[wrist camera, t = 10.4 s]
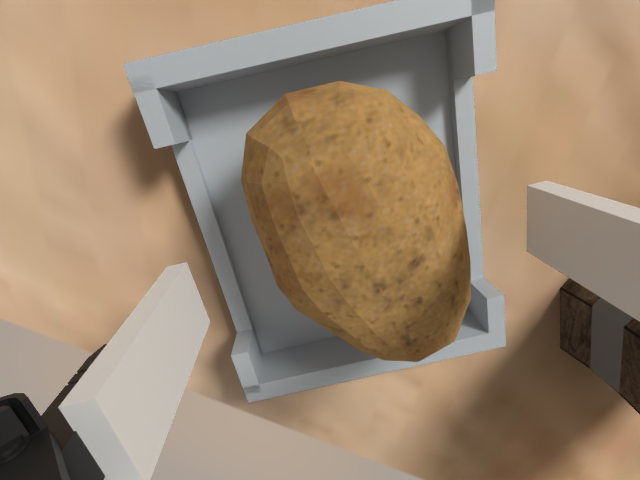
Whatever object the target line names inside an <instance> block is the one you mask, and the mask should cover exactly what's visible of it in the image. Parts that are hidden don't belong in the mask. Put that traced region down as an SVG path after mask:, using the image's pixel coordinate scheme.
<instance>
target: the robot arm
mask: <svg viewBox="0 0 640 480" xmlns="http://www.w3.org/2000/svg"><path fill="white" fill-rule="evenodd" d="M527 252H529V253H530V254H532V255H534V256H535V257H537V258H538V259H540V260H542V261H543V262H545V263H546V264H548V265H550V266H551V267H553V268H554V269H556V270H558V271H559V272H561V273H563V274H564V275H566V276H567V277H569V278H571V279H572V280H574V281H575V282H577V283H579V284H580V285H582V286H583V287H585V288H587V289H588V290H590V291H591V292H593V293H595V294H596V295H598V296H599V297H601V298H603V299H604V300H606V301H607V302H609V303H611V304H612V305H614V306H615V307H617V308H619V309H620V310H622V311H623V312H625V313H627V314H628V315H630V316H631V317H633V318H635V319H636V320H638V321H639V322H640V208H637V207H634V206H630V205H627V204H624V203H620V202H617V201H614V200H610V199H607V198H604V197H600V196H597V195H594V194H590V193H587V192H583V191H580V190H577V189H573V188H570V187H567V186H563V185H560V184H557V183H553V182H550V181H544V182H539V183H535V184H530V185H527ZM209 324H210V320H209V318H208V315H207V312H206V310H205V307H204V305H203V302H202V300H201V297H200V295H199V292H198V289H197V287H196V284H195V282H194V279H193V277H192V274H191V272H190V269H189V266H188V264H187V262H185V263H181V264H176V265H172V266H168V267H166V269H165V270H164V271H163V273H162V274H161V275H160V276H159V278H158V279H157V280H156V282H155V283H154V284H153V285H152V287H151V288H150V289H149V291H148V292H147V293H146V294H145V296H144V297H143V298H142V300H141V301H140V302H139V304H138V305H137V306H136V307H135V309H134V310H133V311H132V313H131V314H130V315H129V316H128V318H127V319H126V320H125V322H124V323H123V324H122V325H121V327H120V328H119V329H118V331H117V332H116V333H115V335H114V336H113V337H112V338H111V340H110V341H109V342H108V344H105V345H103V346H102V347H101V348H100V349H98V350H97V351H96V352H95V353H93V354H92V355H91V356H90V357H89V358H88V359H87V360H86V361H85V363H84V364H83V365H82V366H81V367H80V369H79V370H78V371H77V372H78V373H77V374H75V375H74V376H73V377H72V379H71V380H70V381H69V382H68V385H67V386H65V387H64V389H63V390H62V391H61V393H59V395H58V396H57V397H56V399H55V400H54V401H53V402H52V403H51V405H50V406H49V407H48V408H47V410H46V411H45V412H44V413H43V415H42V416H40V414H39V413H38V411H37V410H36V408H35V407H34V406H33V404H32V403H31V401H30V400H29V398H28V397H27V396H26V395H25V394H24V393H14V394H11V395H7V396H4V397H1V398H0V480H104V478H105V479H106V480H151V478H152V475H153V472H154V470H155V467H156V464H157V461H158V459H159V456H160V454H161V451H162V449H163V446H164V443H165V441H166V438H167V435H168V433H169V430H170V427H171V425H172V422H173V419H174V417H175V414H176V411H177V409H178V406H179V404H180V401H181V398H182V396H183V393H184V390H185V388H186V385H187V382H188V380H189V377H190V374H191V372H192V369H193V367H194V364H195V361H196V359H197V356H198V353H199V351H200V348H201V345H202V343H203V340H204V337H205V335H206V332H207V329H208V327H209Z"/></svg>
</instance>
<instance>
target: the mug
mask: <svg viewBox="0 0 640 480" xmlns="http://www.w3.org/2000/svg"><path fill="white" fill-rule="evenodd" d="M560 348H561V349H562V350H564V351H565V352H567V353H568V354H570V355H571V356H573V357H574V358H576V359H577V360H578V361H580V362H581V363H583V364H584V365H586V366H587V367H589V368H590V369H591V370H592V371H594V372H595V373H596V374H597V375H598V376H599V377H601V378H602V379H603V380H604V381H605V382H606V383H607V384H609V385H610V386H611V387H612V388H613V389H614V390H616V391H617V392H618V393H619V394H620V395H621V396H622V397H623V398H624V399H625V400H626V401H627V402H628V403H629V404H630V405H631V406H632V407H633V408H634V409H635V410H636V411H637V412H638V413H639V414H640V322H639V321H638V320H636V319H635V318H633V317H631V316H630V315H628V314H627V313H625V312H623V311H622V310H620V309H619V308H617V307H615V306H614V305H612V304H611V303H609V302H607V301H606V300H604V299H603V298H601V297H599V296H598V295H596V294H595V293H593V292H591V291H590V290H588V289H587V288H585V287H583V286H582V285H580V284H579V283H577V282H575V281H574V280H572V279H571V278H569V279H568V280H567V281H566V282H565V283H564V285H563V286H562V287H561V288H560Z"/></svg>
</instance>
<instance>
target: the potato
mask: <svg viewBox="0 0 640 480" xmlns="http://www.w3.org/2000/svg"><path fill="white" fill-rule="evenodd" d="M241 181H242V185H243V189H244V193H245V197H246V200H247V204H248V208H249V212H250V216H251V220H252V222H253V225H254V227H255V229H256V232H257V234H258V237H259V239H260V241H261V244H262V246H263V249H264V251H265V254H266V256H267V259H268V262H269V265H270V267H271V270H272V273H273V276H274V279H275V282H276V284H277V286H278V287H279V289H280V290H281V291H282V293H283V294H284V295H285V296H286V298H287V299H288V300H289V301H290V303H291V304H292V305H293V307H294V308H295V309H296V310H297V311H299V312H300V313H302V314H304V315H305V316H307V317H308V318H310V319H312V320H313V321H315V322H316V323H318V324H319V325H321V326H323V327H324V328H326V329H327V330H329V331H330V332H332V333H333V334H335V335H337V336H338V337H340V338H341V339H343V340H344V341H345V342H347V343H348V344H350V345H351V346H353V347H354V348H356V349H358V350H360V351H362V352H365V353H367V354H370V355H372V356H374V357H377V358H379V359H382V360H386V361H409V362H419V361H421V360H423V359H425V358H426V357H428V356H430V355H432V354H434V353H435V352H437V351H439V350H441V349H442V348H444V347H446V346H448V345H449V344H451V343H453V342H455V339H456V337H457V334H458V331H459V329H460V326H461V324H462V321H463V318H464V316H465V313H466V310H467V308H468V305H469V302H470V300H471V261H470V253H469V245H468V237H467V229H466V223H465V218H464V212H463V207H462V202H461V196H460V191H459V187H458V183H457V180H456V177H455V174H454V171H453V168H452V165H451V162H450V159H449V157H448V154H447V151H446V148H445V145H444V144H443V143H442V142H441V141H440V140H439V138H438V137H437V136H436V135H435V134H434V132H433V131H432V130H431V129H430V128H429V127H428V125H427V124H426V123H425V122H424V121H423V119H422V118H421V117H420V116H419V115H418V114H417V113H415V112H414V111H413V110H412V109H410V108H409V107H408V106H406V105H405V104H404V103H403V102H401V101H400V100H399V99H398V98H396V97H395V96H394V95H392V94H391V93H390V92H389V91H387V90H386V89H380V88H375V87H369V86H364V85H358V84H353V83H348V82H344V81H337V82H333V83H328V84H324V85H320V86H316V87H311V88H307V89H303V90H299V91H295V92H290V93H286V94H284V95H283V96H282V97H281V98H280V99H279V100H278V101H277V102H276V103H275V104H274V105H273V106H272V107H271V108H270V109H269V110H268V111H267V112H266V113H265V115H264V116H263V117H262V118H261V119H260V120H259V121H258V122H257V123H256V124H255V125H254V126H253V127H252V128H251V129H250V130H249V131H248V132H247V133H246V139H245V148H244V157H243V166H242V175H241Z"/></svg>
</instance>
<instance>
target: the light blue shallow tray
mask: <svg viewBox="0 0 640 480" xmlns="http://www.w3.org/2000/svg"><path fill="white" fill-rule="evenodd" d="M123 66H124V69H125V71H126V74H127V77H128V79H129V82H130V85H131V88H132V90H133V93H134V96H135V98H136V101H137V104H138V106H139V109H140V112H141V115H142V117H143V120H144V123H145V125H146V128H147V131H148V133H149V136H150V139H151V142H152V144H153V147H154V149H157V148H161V147H166V146H170V145H171V146H172V149H173V152H174V155H175V158H176V161H177V164H178V166H179V169H180V172H181V175H182V178H183V181H184V183H185V186H186V189H187V192H188V195H189V198H190V200H191V203H192V206H193V209H194V212H195V215H196V217H197V220H198V223H199V226H200V229H201V232H202V234H203V237H204V240H205V243H206V246H207V249H208V251H209V254H210V257H211V260H212V263H213V266H214V268H215V271H216V274H217V277H218V280H219V283H220V285H221V288H222V291H223V294H224V297H225V300H226V302H227V305H228V308H229V311H230V314H231V317H232V319H233V322H234V325H235V328H236V331H237V334H236V338H235V342H234V345H233V349H232V353H231V358H232V360H233V363H234V366H235V368H236V371H237V374H238V377H239V379H240V382H241V385H242V387H243V390H244V393H245V395H246V398H247V401H248V403H251V402H255V401H260V400H264V399H269V398H273V397H278V396H282V395H287V394H292V393H296V392H301V391H305V390H310V389H314V388H319V387H323V386H328V385H332V384H337V383H341V382H346V381H350V380H355V379H359V378H364V377H368V376H373V375H378V374H382V373H387V372H391V371H396V370H400V369H405V368H409V367H414V366H418V365H423V364H427V363H432V362H436V361H441V360H445V359H450V358H454V357H459V356H464V355H468V354H473V353H477V352H482V351H486V350H491V349H495V348H500V347H504V346H506V332H505V302H504V294H503V293H502V292H500V291H499V290H498V289H497V288H496V287H495V286H493V285H492V284H491V283H490V282H489V281H488V280H487V279H485V278H484V271H483V253H482V235H481V217H480V199H479V181H478V164H477V146H476V128H475V110H474V92H473V76H476V75H480V74H484V73H489V72H493V71H497V66H496V37H495V7H494V0H395V1H391V2H386V3H382V4H378V5H374V6H369V7H365V8H361V9H356V10H352V11H348V12H343V13H339V14H335V15H330V16H326V17H322V18H317V19H313V20H309V21H304V22H300V23H296V24H291V25H287V26H283V27H279V28H274V29H270V30H266V31H261V32H257V33H253V34H248V35H244V36H240V37H235V38H231V39H227V40H222V41H218V42H214V43H209V44H205V45H201V46H196V47H192V48H188V49H184V50H179V51H175V52H171V53H166V54H162V55H158V56H153V57H149V58H145V59H140V60H136V61H132V62H127V63H123ZM337 81H344V82H348V83H353V84H358V85H364V86H369V87H375V88H380V89H386V90H387V91H389V92H390V93H391V94H392V95H394V96H395V97H396V98H398V99H399V100H400V101H401V102H403V103H404V104H405V105H406V106H408V107H409V108H410V109H412V110H413V111H414V112H415V113H417V114H418V115H419V116H420V117H421V118H422V119H423V121H424V122H425V123H426V124H427V125H428V127H429V128H430V129H431V130H432V131H433V132H434V134H435V135H436V136H437V137H438V138H439V140H440V141H441V142H442V143H443V144H444V145H445V148H446V151H447V154H448V157H449V159H450V162H451V165H452V168H453V171H454V174H455V177H456V180H457V183H458V187H459V191H460V196H461V202H462V207H463V212H464V218H465V223H466V229H467V237H468V245H469V253H470V261H471V300H470V302H469V305H468V308H467V310H466V313H465V316H464V318H463V321H462V324H461V326H460V329H459V331H458V334H457V337H456V339H455V342H453V343H451V344H449V345H448V346H446V347H444V348H442V349H441V350H439V351H437V352H435V353H434V354H432V355H430V356H428V357H426V358H425V359H423V360H421V361H419V362H409V361H386V360H382V359H379V358H377V357H374V356H372V355H370V354H367V353H365V352H362V351H360V350H358V349H356V348H354V347H353V346H351V345H350V344H348V343H347V342H345V341H344V340H343V339H341V338H340V337H338V336H337V335H335V334H333V333H332V332H330V331H329V330H327V329H326V328H324V327H323V326H321V325H319V324H318V323H316V322H315V321H313V320H312V319H310V318H308V317H307V316H305V315H304V314H302V313H300V312H299V311H297V310H296V309H295V308H294V307H293V305H292V304H291V303H290V301H289V300H288V299H287V298H286V296H285V295H284V294H283V293H282V291H281V290H280V289H279V287H278V286H277V284H276V282H275V279H274V276H273V273H272V270H271V267H270V265H269V262H268V259H267V256H266V254H265V251H264V249H263V246H262V244H261V241H260V239H259V237H258V234H257V232H256V229H255V227H254V225H253V222H252V220H251V216H250V212H249V208H248V204H247V200H246V197H245V193H244V189H243V185H242V181H241V175H242V166H243V157H244V148H245V139H246V133H247V132H248V131H249V130H250V129H251V128H252V127H253V126H254V125H255V124H256V123H257V122H258V121H259V120H260V119H261V118H262V117H263V116H264V115H265V113H266V112H267V111H268V110H269V109H270V108H271V107H272V106H273V105H274V104H275V103H276V102H277V101H278V100H279V99H280V98H281V97H282V96H283V95H284V94H286V93H290V92H295V91H299V90H303V89H307V88H311V87H316V86H320V85H324V84H328V83H333V82H337Z"/></svg>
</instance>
